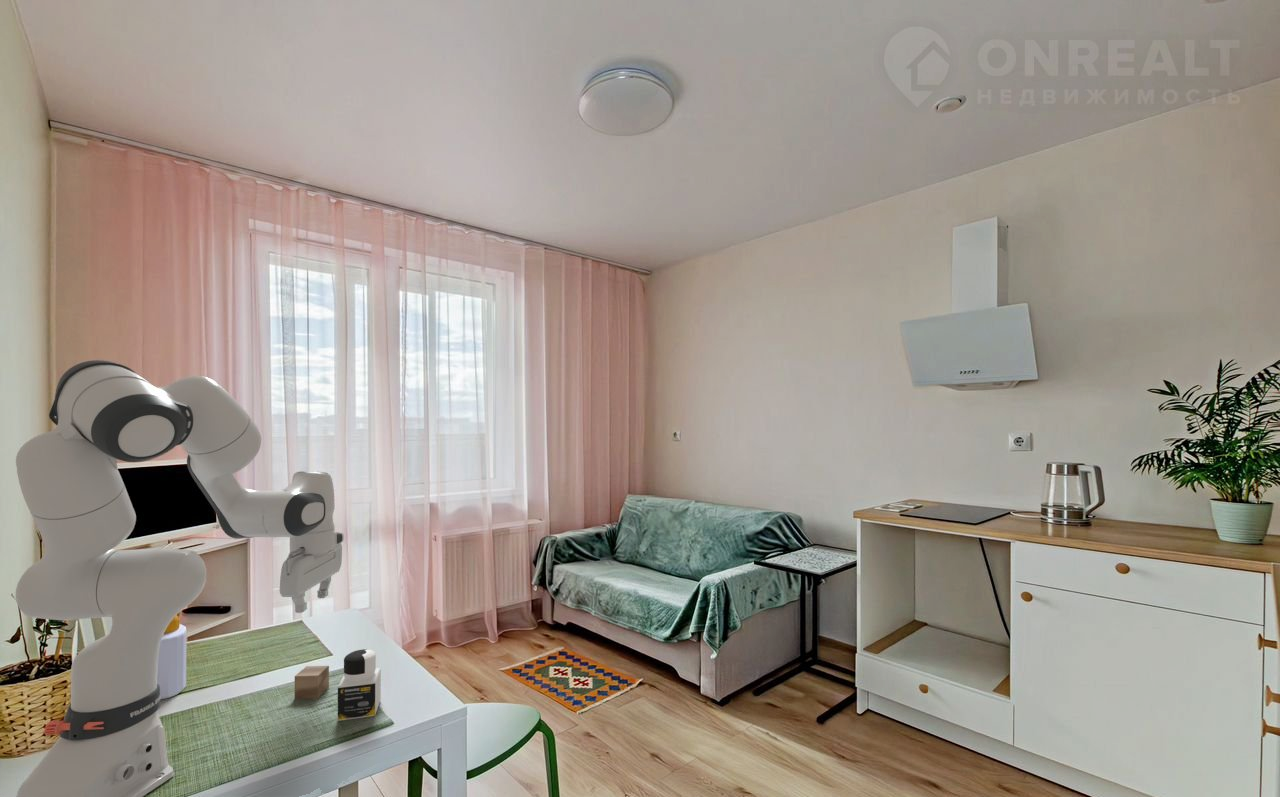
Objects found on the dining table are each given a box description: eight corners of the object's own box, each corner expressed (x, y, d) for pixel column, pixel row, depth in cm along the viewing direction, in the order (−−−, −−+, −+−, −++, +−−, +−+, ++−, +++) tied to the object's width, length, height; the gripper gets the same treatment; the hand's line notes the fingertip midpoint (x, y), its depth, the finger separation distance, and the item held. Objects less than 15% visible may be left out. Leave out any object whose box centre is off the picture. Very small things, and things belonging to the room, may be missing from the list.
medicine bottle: (337, 721, 119) (337, 662, 119) (344, 704, 125) (345, 648, 126) (375, 716, 120) (375, 657, 121) (380, 700, 127) (381, 644, 128)
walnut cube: (317, 698, 128) (317, 675, 129) (294, 699, 128) (294, 676, 128) (328, 687, 134) (328, 665, 134) (306, 688, 133) (306, 666, 133)
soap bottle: (191, 692, 132) (192, 601, 132) (143, 705, 126) (144, 610, 126) (180, 674, 141) (181, 589, 141) (135, 686, 135) (136, 597, 135)
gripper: (302, 554, 121) (302, 621, 121) (347, 532, 142) (347, 589, 142) (270, 554, 121) (270, 621, 121) (320, 532, 141) (320, 590, 141)
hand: (312, 604), depth 131 cm, fingers open, 8 cm apart
